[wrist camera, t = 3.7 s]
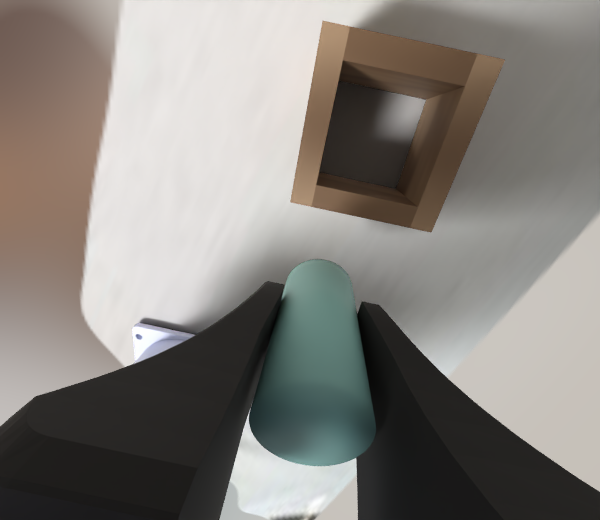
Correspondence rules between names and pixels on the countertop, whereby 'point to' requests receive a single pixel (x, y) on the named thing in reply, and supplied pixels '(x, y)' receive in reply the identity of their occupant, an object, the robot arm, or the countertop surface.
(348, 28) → the bead block
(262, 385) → the teal cylinder
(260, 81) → the countertop surface
